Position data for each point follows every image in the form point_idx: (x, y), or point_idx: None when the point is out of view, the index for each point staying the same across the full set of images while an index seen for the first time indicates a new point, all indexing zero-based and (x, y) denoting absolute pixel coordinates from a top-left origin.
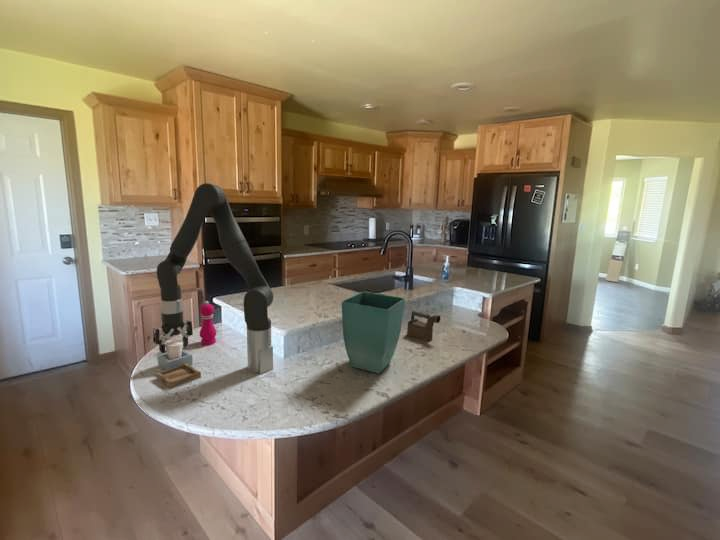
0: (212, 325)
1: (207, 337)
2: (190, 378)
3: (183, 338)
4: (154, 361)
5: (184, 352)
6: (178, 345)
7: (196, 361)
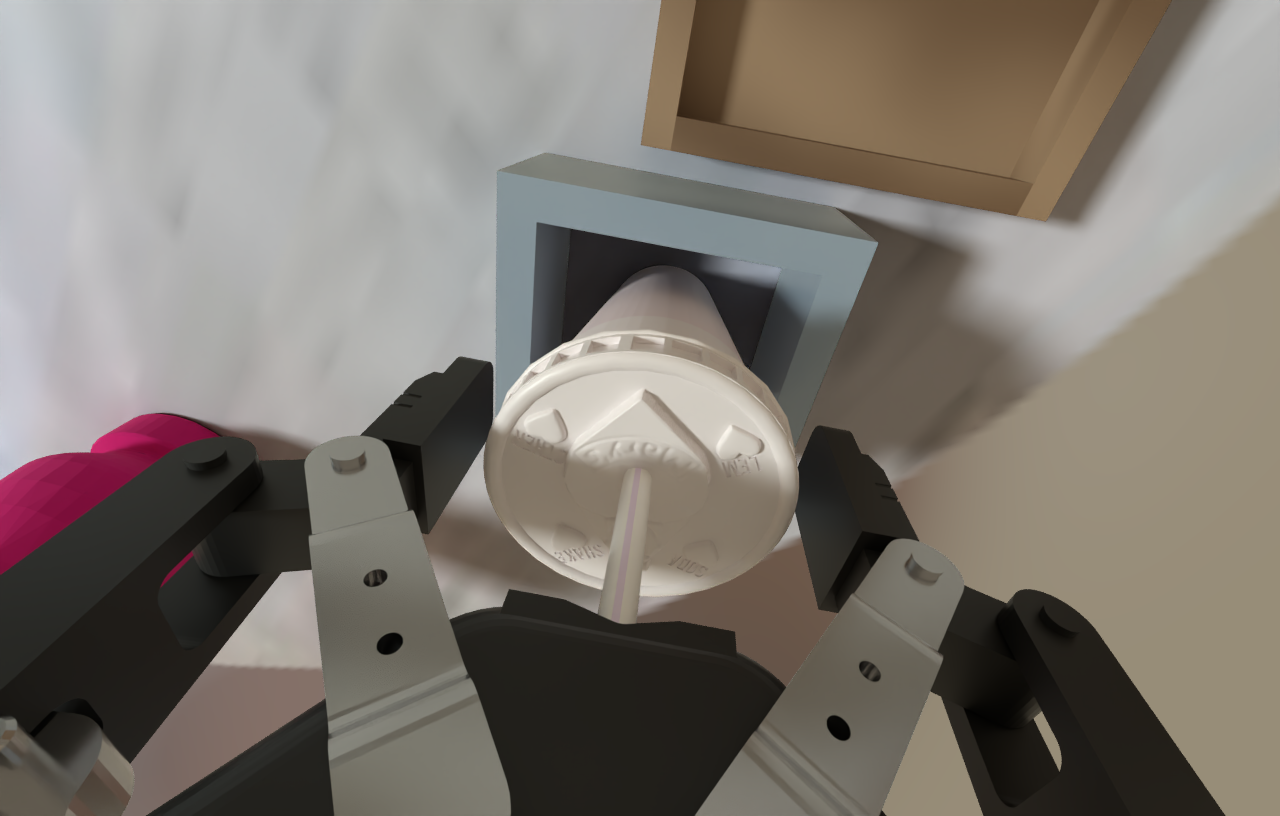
0: None
1: None
2: None
3: (431, 489)
4: None
5: (528, 340)
6: (652, 353)
7: (459, 210)
